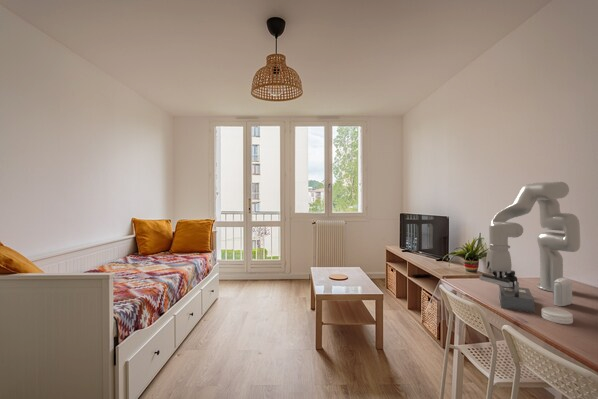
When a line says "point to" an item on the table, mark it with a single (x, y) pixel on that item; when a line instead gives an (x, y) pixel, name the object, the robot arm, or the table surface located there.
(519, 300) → the grey lever box
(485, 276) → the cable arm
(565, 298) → the photo printer
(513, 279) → the supplement bottle
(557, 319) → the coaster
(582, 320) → the table surface
